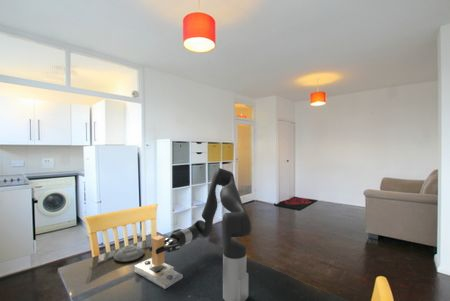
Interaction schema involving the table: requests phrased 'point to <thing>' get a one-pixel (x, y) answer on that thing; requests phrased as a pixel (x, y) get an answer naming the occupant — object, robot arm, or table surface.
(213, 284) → the table surface
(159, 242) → the pin
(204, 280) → the table surface
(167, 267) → the white peg board
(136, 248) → the flying saucer
